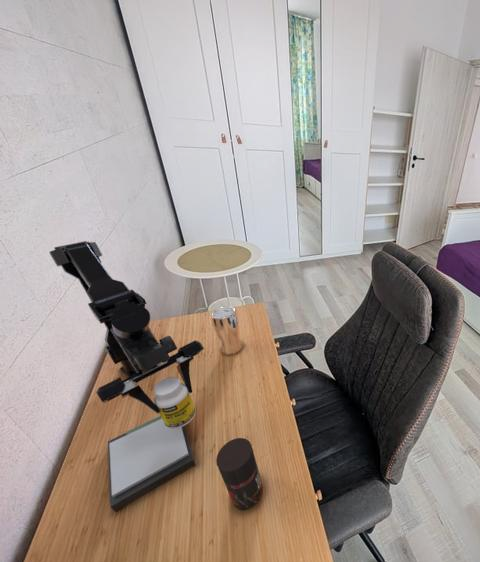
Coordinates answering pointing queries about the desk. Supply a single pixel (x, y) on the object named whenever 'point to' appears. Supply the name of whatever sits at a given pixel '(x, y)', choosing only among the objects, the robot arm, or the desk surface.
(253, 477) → the deodorant
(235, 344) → the beer glass
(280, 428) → the desk surface
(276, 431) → the desk surface
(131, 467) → the kitchen scale
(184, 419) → the pill bottle
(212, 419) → the desk surface
